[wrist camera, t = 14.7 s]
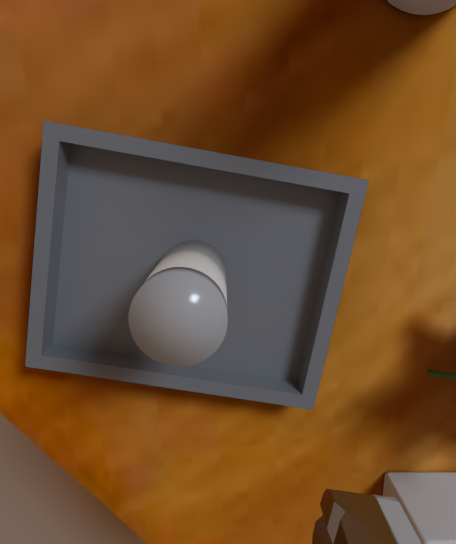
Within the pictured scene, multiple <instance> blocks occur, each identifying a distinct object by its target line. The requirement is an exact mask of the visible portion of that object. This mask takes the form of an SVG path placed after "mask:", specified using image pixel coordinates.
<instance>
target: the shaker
mask: <svg viewBox="0 0 456 544" xmlns="http://www.w3.org/2000/svg"><path fill="white" fill-rule="evenodd" d="M128 321H129V328H130V332H131V335H132V337H133V339H134V341H135V343H136V344H137V346H138V347H139V348H140V350H141V351H142V352H143V353H144V354H146V355H147V356H148V357H150V358H151V359H153V360H155V361H157V362H159V363H161V364H164V365H168V366H176V367H184V366H190V365H194V364H197V363H199V362H202V361H203V360H205V359H207V358H208V357H210V356H211V355H212V354H213V353H214V352H215V351H216V350H217V349H218V348H219V346H220V345H221V343H222V341H223V339H224V337H225V334H226V331H227V324H228V315H227V288H226V268H225V264H224V261H223V258H222V257H221V255H220V254H219V252H218V251H217V250H216V249H215V248H214V247H212V246H211V245H209V244H207V243H205V242H202V241H198V240H187V241H183V242H180V243H178V244H176V245H174V246H173V247H171V248H170V249H169V250H168V251H167V252H166V254H165V255H164V256H163V258H162V259H161V260H160V262H159V263H158V265H157V266H156V267H155V269H154V270H153V271H152V273H151V274H150V275H149V277H148V278H147V279H146V281H145V282H144V283H143V285H142V286H141V287H140V289H139V290H138V292H137V293H136V294H135V296H134V298H133V300H132V302H131V305H130V309H129V316H128Z"/></svg>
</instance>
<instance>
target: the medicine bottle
mask: <svg viewBox="0 0 456 544" xmlns="http://www.w3.org/2000/svg"><path fill="white" fill-rule="evenodd" d="M382 496H388V497H394V498H396V499H397V500H398V501H399V503H400V504H401V506H402V508H403V510H404V512H405V514H406V516H407V518H408V519H409V521H410V523H411V525H412V527H413V529H414V531H415V533H416V534H417V536H418V538H419V540H420V542H421V544H456V472H387V473H386V474H385V477H384V486H383V495H382Z"/></svg>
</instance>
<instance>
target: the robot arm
mask: <svg viewBox="0 0 456 544" xmlns="http://www.w3.org/2000/svg"><path fill="white" fill-rule="evenodd" d="M320 505H321V509H322V512H323V516H322V517H321V518H319V519H318V520H317V521H316V523H315V527H314V531H313V539H312V544H421V542H420V540H419V538H418V536H417V534H416V533H415V531H414V529H413V527H412V525H411V523H410V521H409V519H408V518H407V516H406V514H405V512H404V510H403V508H402V506H401V504H400V503H399V501H398V500H397V499H396V498H394V497H388V496H380V495H366V494H360V493H353V492H346V491H339V490H332V489H326V490H325V492H324V493H323V496H322V500H321V503H320Z"/></svg>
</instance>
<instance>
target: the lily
mask: <svg viewBox="0 0 456 544" xmlns="http://www.w3.org/2000/svg"><path fill="white" fill-rule="evenodd" d="M427 374H428V375H433V376H441V377H449V378H456V374H449V373H440V372H432V371H428V372H427Z"/></svg>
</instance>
